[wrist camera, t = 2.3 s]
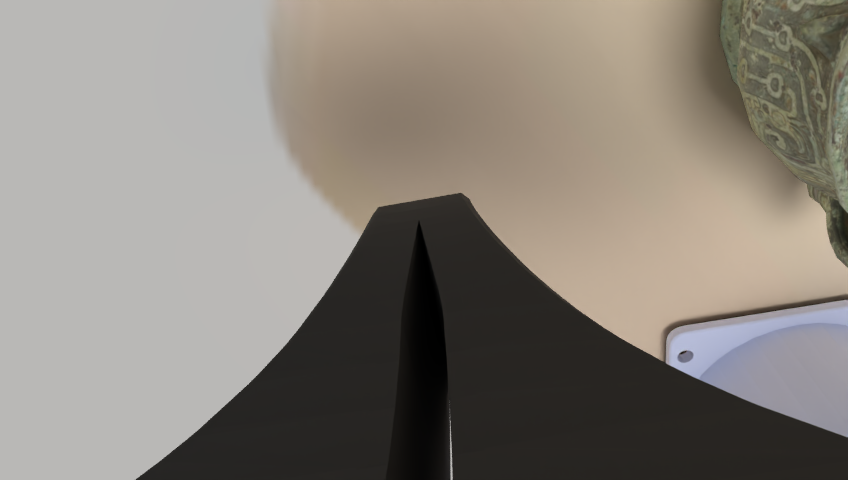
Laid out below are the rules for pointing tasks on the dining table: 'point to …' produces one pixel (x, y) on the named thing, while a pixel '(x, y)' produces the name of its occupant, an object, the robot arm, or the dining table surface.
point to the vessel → (797, 92)
